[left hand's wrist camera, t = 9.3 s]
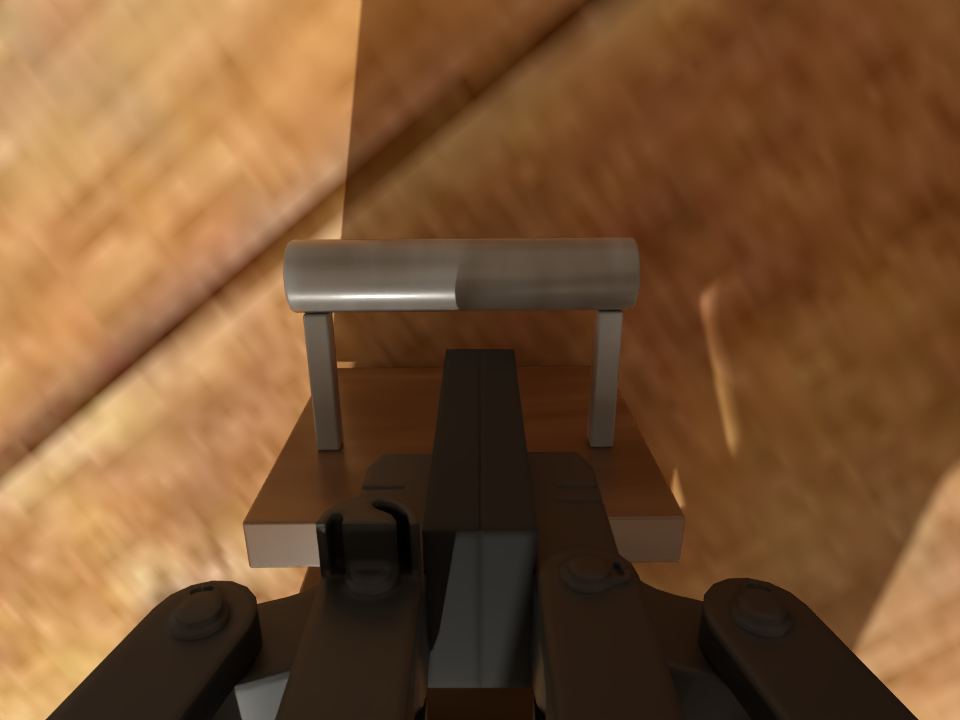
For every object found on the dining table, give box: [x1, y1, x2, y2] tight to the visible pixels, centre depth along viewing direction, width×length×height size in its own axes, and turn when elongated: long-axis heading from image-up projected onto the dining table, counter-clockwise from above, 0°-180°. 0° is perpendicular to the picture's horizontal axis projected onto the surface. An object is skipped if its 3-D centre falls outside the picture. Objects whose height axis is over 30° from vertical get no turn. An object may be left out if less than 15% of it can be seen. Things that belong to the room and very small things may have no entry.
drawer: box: [243, 237, 685, 720], centre depth 20 cm, size 23×10×9 cm, turn 0°
